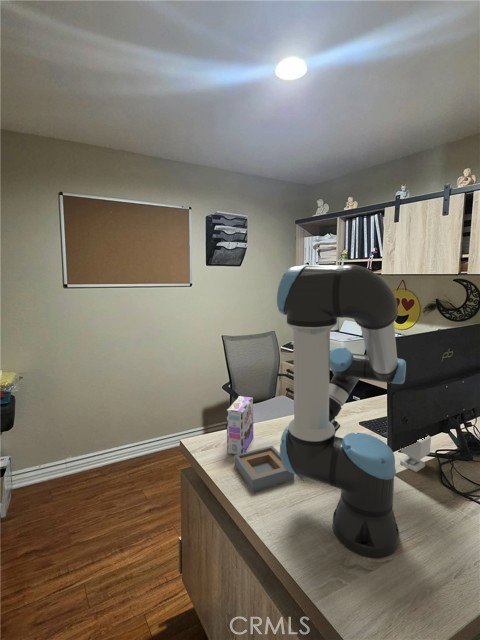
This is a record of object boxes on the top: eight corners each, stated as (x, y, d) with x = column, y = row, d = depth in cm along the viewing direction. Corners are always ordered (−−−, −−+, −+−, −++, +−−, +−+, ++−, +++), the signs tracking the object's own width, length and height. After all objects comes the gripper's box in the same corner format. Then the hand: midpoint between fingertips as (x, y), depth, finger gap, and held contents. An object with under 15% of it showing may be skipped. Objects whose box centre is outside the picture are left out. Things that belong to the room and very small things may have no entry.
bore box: (294, 479, 101) (294, 468, 100) (252, 492, 95) (252, 480, 95) (272, 456, 113) (272, 445, 113) (234, 466, 108) (234, 455, 107)
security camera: (429, 465, 107) (431, 436, 105) (417, 472, 103) (419, 443, 102) (409, 456, 112) (411, 428, 111) (398, 463, 108) (400, 434, 107)
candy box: (242, 457, 113) (242, 411, 111) (226, 454, 115) (225, 409, 113) (254, 437, 126) (253, 396, 124) (239, 435, 128) (238, 395, 125)
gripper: (362, 417, 104) (324, 482, 98) (315, 397, 120) (281, 451, 114) (351, 405, 100) (312, 472, 94) (305, 386, 117) (269, 442, 110)
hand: (295, 461), depth 104 cm, fingers closed on skincare box, 7 cm apart
